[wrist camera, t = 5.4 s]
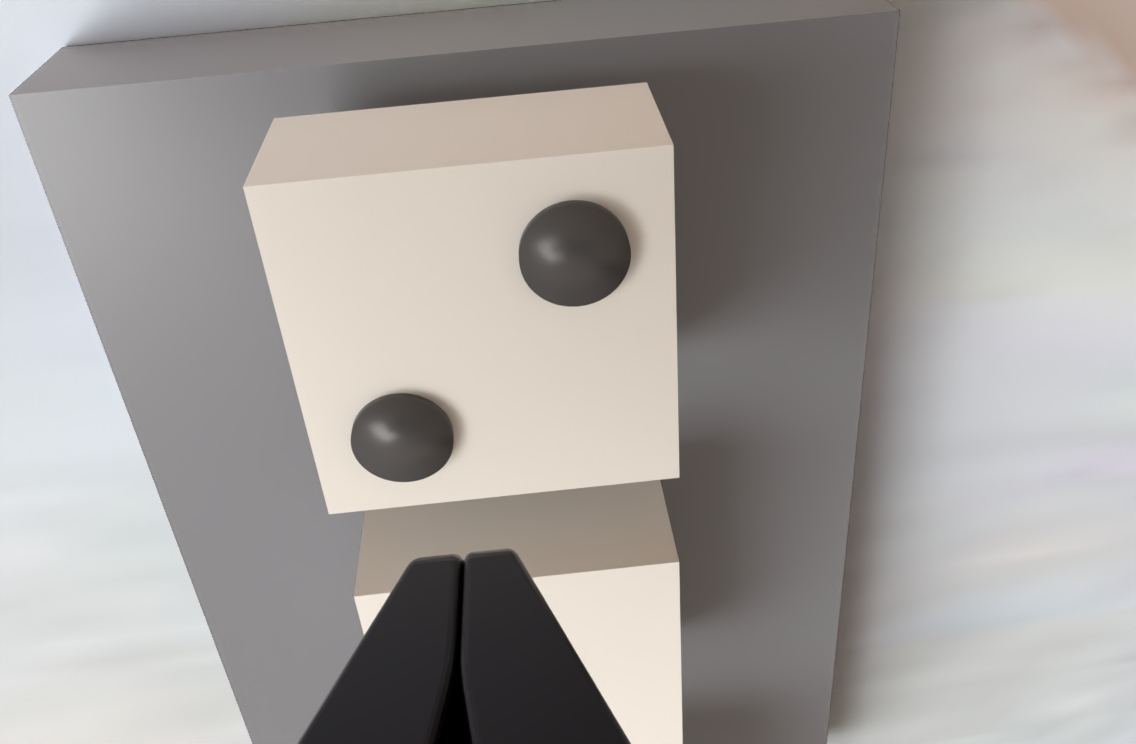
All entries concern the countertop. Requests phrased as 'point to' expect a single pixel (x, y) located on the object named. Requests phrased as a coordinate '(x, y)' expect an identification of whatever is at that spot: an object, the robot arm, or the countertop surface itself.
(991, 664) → the countertop surface
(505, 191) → the two-dot button
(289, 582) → the button panel
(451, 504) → the one-dot button
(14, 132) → the countertop surface
